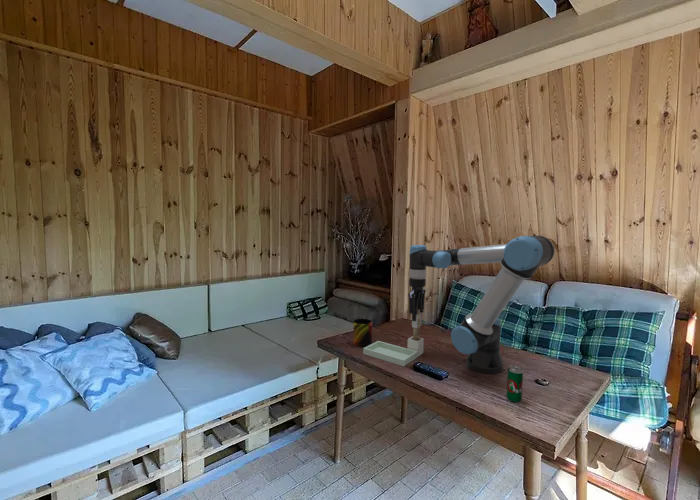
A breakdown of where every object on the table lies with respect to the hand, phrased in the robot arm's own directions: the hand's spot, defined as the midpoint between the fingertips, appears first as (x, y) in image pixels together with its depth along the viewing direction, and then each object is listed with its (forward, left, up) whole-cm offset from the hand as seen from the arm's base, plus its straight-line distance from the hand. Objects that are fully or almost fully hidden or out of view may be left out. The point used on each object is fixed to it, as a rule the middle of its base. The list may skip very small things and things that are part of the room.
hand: (416, 326), depth 163 cm
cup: (0, 0, -14) cm, 14 cm away
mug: (+30, +4, -14) cm, 34 cm away
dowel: (0, 0, -9) cm, 9 cm away
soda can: (-47, +14, -14) cm, 51 cm away
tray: (+8, +10, -14) cm, 19 cm away
